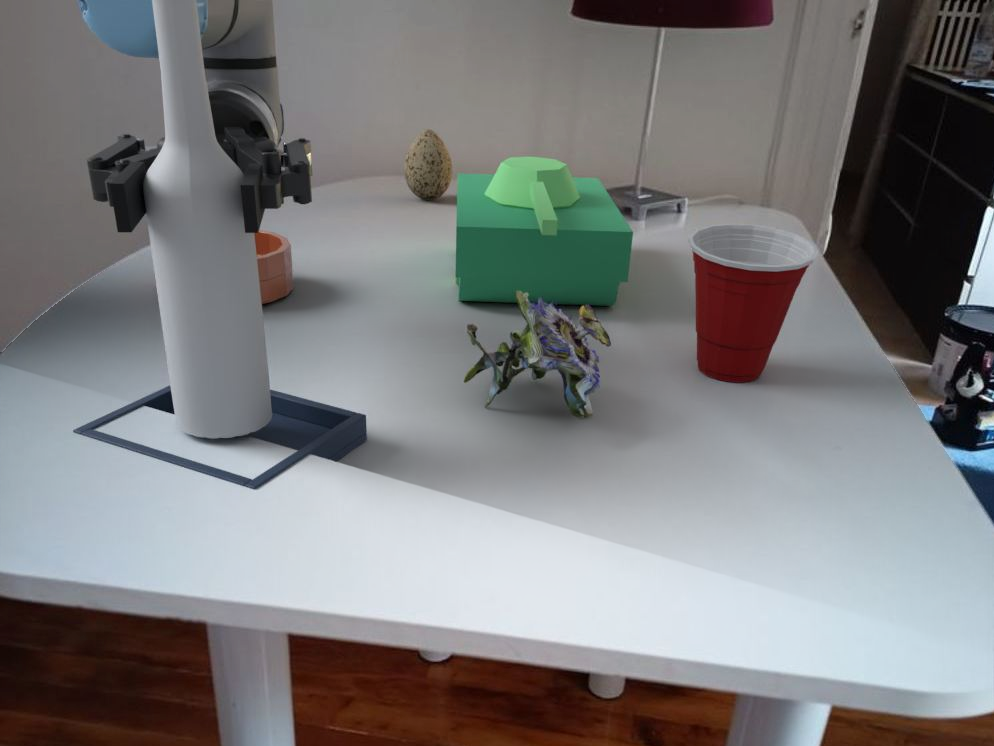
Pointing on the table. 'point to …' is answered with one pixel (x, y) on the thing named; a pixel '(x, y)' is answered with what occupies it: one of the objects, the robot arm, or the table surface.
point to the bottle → (203, 251)
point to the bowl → (273, 265)
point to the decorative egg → (428, 166)
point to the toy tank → (539, 236)
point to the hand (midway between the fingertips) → (185, 208)
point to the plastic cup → (743, 294)
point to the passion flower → (548, 352)
